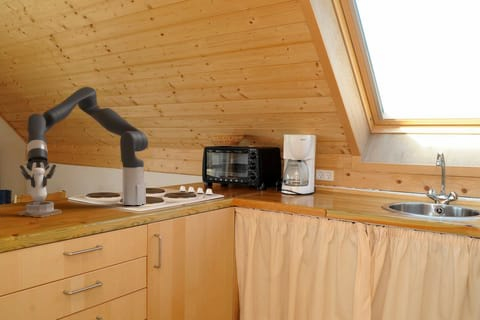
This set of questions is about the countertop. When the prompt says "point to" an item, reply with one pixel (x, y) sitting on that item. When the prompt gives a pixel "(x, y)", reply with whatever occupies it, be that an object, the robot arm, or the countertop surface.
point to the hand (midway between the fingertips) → (39, 186)
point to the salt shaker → (38, 185)
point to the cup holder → (40, 209)
